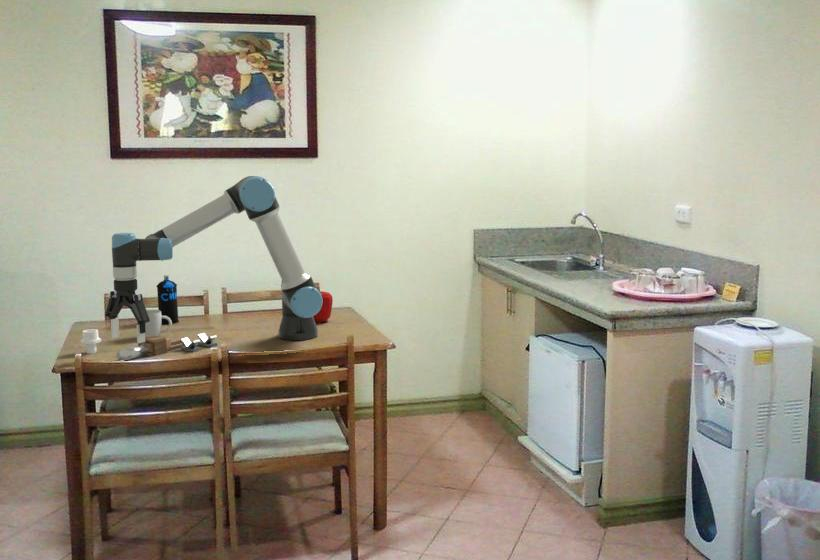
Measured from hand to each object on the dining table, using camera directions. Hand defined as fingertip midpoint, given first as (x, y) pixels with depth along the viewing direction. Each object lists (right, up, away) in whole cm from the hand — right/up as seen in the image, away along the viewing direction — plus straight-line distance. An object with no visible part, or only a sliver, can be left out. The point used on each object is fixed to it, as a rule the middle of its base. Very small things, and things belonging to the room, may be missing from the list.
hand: (128, 339), depth 268 cm
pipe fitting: (-16, -5, +9) cm, 20 cm away
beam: (+9, -4, +14) cm, 17 cm away
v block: (+20, -4, +16) cm, 26 cm away
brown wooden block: (+6, -5, +10) cm, 13 cm away
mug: (-1, -2, +33) cm, 33 cm away
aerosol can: (-4, +3, +59) cm, 59 cm away
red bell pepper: (+59, +3, +60) cm, 84 cm away
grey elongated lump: (+1, -6, +2) cm, 7 cm away
